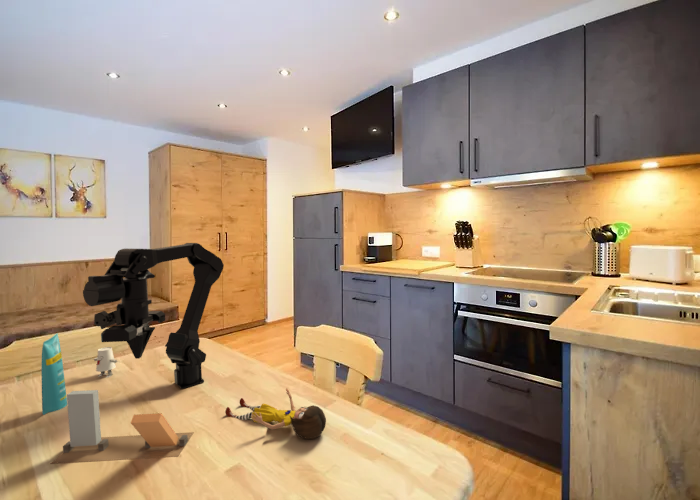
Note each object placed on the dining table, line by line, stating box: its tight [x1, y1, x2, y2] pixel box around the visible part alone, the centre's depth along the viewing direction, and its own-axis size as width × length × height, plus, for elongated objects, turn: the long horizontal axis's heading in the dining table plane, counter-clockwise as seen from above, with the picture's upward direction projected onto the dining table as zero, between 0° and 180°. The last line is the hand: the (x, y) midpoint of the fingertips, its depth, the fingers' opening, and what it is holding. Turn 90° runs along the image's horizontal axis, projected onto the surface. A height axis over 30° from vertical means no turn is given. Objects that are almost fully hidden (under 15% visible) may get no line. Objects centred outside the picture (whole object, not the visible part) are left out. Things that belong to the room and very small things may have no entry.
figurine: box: [224, 388, 327, 441], centre depth 79 cm, size 13×8×25 cm
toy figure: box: [90, 346, 119, 378], centre depth 109 cm, size 12×6×8 cm, turn 75°
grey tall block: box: [66, 389, 102, 447], centre depth 70 cm, size 2×5×11 cm, turn 94°
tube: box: [41, 332, 68, 416], centre depth 87 cm, size 7×5×19 cm, turn 26°
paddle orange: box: [130, 412, 178, 447], centre depth 67 cm, size 2×5×11 cm
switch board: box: [50, 431, 195, 465], centre depth 71 cm, size 8×24×2 cm, turn 94°
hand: (138, 358), depth 88 cm, fingers closed
